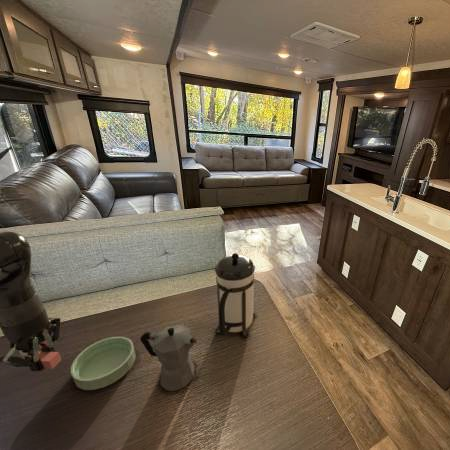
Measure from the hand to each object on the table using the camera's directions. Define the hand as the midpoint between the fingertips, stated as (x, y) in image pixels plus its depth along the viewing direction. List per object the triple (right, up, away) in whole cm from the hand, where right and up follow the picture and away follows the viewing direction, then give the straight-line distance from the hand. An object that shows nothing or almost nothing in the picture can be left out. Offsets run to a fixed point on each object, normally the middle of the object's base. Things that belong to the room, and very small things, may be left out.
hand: (44, 363), depth 65 cm
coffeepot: (+31, -7, +6) cm, 33 cm away
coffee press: (+44, -1, +25) cm, 51 cm away
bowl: (+11, -5, +7) cm, 14 cm away
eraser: (0, 0, 0) cm, 0 cm away
